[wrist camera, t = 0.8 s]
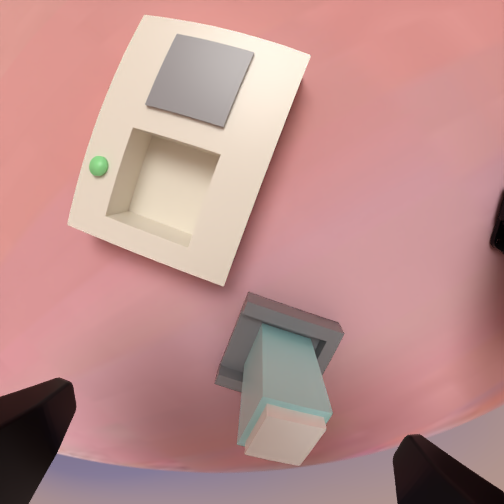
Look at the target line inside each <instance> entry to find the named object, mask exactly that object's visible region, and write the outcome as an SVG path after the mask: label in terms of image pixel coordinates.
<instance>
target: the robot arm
mask: <svg viewBox="0 0 504 504" xmlns="http://www.w3.org/2000/svg"><path fill="white" fill-rule="evenodd" d="M497 239H498V241H497V243H496V240H497ZM491 245H492V246H493V247H494V248H496V249H497V250H499V251H500V252H502V253H503V254H504V199H503V202H502V206H501V209H500V213H499V216H498V219H497V222H496V226H495V229H494V232H493V235H492V237H491ZM75 411H76V400H75V394H74V388H73V385H72V383H71V382H70V381H67V380H65V379H62V378H55V379H52V380H49V381H46V382H43V383H40V384H37V385H34V386H31V387H29V388H26V389H23V390H20V391H16V392H13V393H10V394H7V395H4V396H1V397H0V504H29V502H30V500H31V498H32V496H33V495H34V493H35V491H36V489H37V487H38V486H39V484H40V482H41V480H42V478H43V477H44V475H45V473H46V471H47V470H48V468H49V466H50V465H51V463H52V461H53V459H54V457H55V456H56V454H57V452H58V450H59V448H60V445H61V443H62V441H63V438H64V436H65V434H66V432H67V429H68V427H69V425H70V423H71V420H72V418H73V416H74V414H75ZM393 467H394V475H395V485H396V494H397V503H398V504H504V492H503V491H502V490H500V489H499V488H497V487H496V486H494V485H493V484H491V483H489V482H488V481H486V480H485V479H484V478H482V477H480V476H479V475H478V474H476V473H475V472H473V471H472V470H470V469H469V468H467V467H466V466H464V465H463V464H461V463H460V462H459V461H457V460H456V459H454V458H453V457H451V456H450V455H448V454H447V453H446V452H444V451H443V450H441V449H440V448H438V447H437V446H436V445H434V444H433V443H431V442H430V441H429V440H427V439H426V438H424V437H423V436H422V435H420V434H414V435H407V436H406V437H405V438H404V439H403V441H402V442H401V444H400V446H399V447H398V449H397V451H396V452H395V454H394V456H393Z"/></svg>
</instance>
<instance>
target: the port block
mask: <svg viewBox="0 0 504 504" xmlns="http://www.w3.org/2000/svg"><path fill="white" fill-rule="evenodd" d="M310 57H311V55H309V54H306V53H304V52H301V51H298V50H295V49H292V48H289V47H286V46H283V45H280V44H277V43H274V42H271V41H268V40H264V39H261V38H258V37H254V36H251V35H247V34H243V33H239V32H236V31H232V30H228V29H223V28H219V27H215V26H210V25H205V24H200V23H195V22H190V21H184V20H178V19H172V18H165V17H158V16H150V15H144V16H143V18H142V20H141V22H140V24H139V26H138V28H137V29H136V31H135V33H134V35H133V37H132V39H131V41H130V43H129V45H128V47H127V49H126V51H125V53H124V56H123V58H122V60H121V62H120V64H119V66H118V69H117V71H116V73H115V75H114V78H113V80H112V82H111V85H110V87H109V90H108V92H107V95H106V97H105V100H104V102H103V105H102V107H101V110H100V113H99V115H98V118H97V121H96V124H95V127H94V129H93V132H92V135H91V138H90V141H89V144H88V148H87V151H86V154H85V157H84V161H83V164H82V167H81V171H80V175H79V178H78V182H77V186H76V189H75V193H74V197H73V202H72V206H71V210H70V215H69V219H68V224H67V225H69V226H71V227H74V228H76V229H78V230H81V231H83V232H85V233H88V234H90V235H93V236H95V237H97V238H100V239H102V240H105V241H107V242H109V243H112V244H114V245H117V246H119V247H122V248H124V249H127V250H129V251H132V252H134V253H137V254H139V255H142V256H144V257H147V258H149V259H152V260H154V261H157V262H160V263H162V264H165V265H167V266H170V267H172V268H175V269H178V270H180V271H183V272H186V273H188V274H191V275H194V276H196V277H199V278H202V279H204V280H207V281H210V282H212V283H215V284H218V285H220V286H223V287H224V284H225V281H226V279H227V276H228V273H229V270H230V268H231V265H232V262H233V259H234V257H235V254H236V251H237V249H238V246H239V243H240V240H241V238H242V235H243V232H244V230H245V227H246V224H247V221H248V219H249V216H250V213H251V211H252V208H253V205H254V203H255V200H256V197H257V195H258V192H259V189H260V187H261V184H262V181H263V179H264V176H265V173H266V171H267V168H268V165H269V163H270V160H271V157H272V155H273V152H274V150H275V147H276V144H277V142H278V139H279V136H280V134H281V131H282V129H283V126H284V123H285V121H286V118H287V116H288V113H289V110H290V108H291V105H292V103H293V100H294V97H295V95H296V92H297V90H298V87H299V85H300V82H301V79H302V77H303V74H304V72H305V69H306V67H307V64H308V62H309V59H310Z"/></svg>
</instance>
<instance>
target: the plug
mask: <svg viewBox="0 0 504 504" xmlns="http://www.w3.org/2000/svg"><path fill="white" fill-rule="evenodd" d="M332 414H333V411H332V408H331V405H330V401H329V398H328V394H327V391H326V388H325V384H324V381H323V377H322V374H321V371H320V367H319V364H318V361H317V358H316V354H315V351H314V348H313V344H312V341H311V339H310V338H307V337H303V336H300V335H297V334H294V333H291V332H288V331H285V330H282V329H279V328H276V327H273V326H270V325H267V324H264V323H262V325H261V327H260V329H259V332H258V334H257V336H256V339H255V341H254V343H253V346H252V348H251V350H250V353H249V355H248V357H247V359H246V362H245V364H244V372H243V383H242V393H241V404H240V415H239V426H238V437H237V445H241V446H244V447H245V455H248V456H253V457H257V458H261V459H266V460H271V461H276V462H281V463H286V464H291V465H297V466H300V465H301V463H302V462H303V461H304V459H305V458H306V457H307V455H308V454H309V453H310V452H311V450H312V449H313V447H314V446H315V445H316V443H317V442H318V441H319V439H320V438H321V436H322V435H323V434H324V432H325V431H326V429H327V428H326V423H327V422H328V420H329V419H330V417H331V416H332Z"/></svg>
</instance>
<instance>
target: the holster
mask: <svg viewBox="0 0 504 504" xmlns="http://www.w3.org/2000/svg"><path fill="white" fill-rule="evenodd" d="M262 323H264V324H267V325H270V326H273V327H276V328H279V329H282V330H285V331H288V332H291V333H294V334H297V335H300V336H303V337H307V338H310V339H311V341H312V344H313V348H314V351H315V354H316V358H317V361H318V364H319V367H320V371H321V374H322V375H323V373H324V371H325V369H326V368H327V366H328V364H329V362H330V360H331V358H332V356H333V355H334V353H335V351H336V349H337V347H338V345H339V343H340V341H341V339H342V337H343V336H344V332H343V330H342V328H341V326H340V325H339V323H338V322H335V321H332V320H329V319H326V318H323V317H320V316H317V315H314V314H311V313H308V312H305V311H302V310H299V309H296V308H293V307H290V306H287V305H284V304H282V303H279V302H276V301H273V300H270V299H267V298H264V297H262V296H259V295H256V294H253V293H250V292H248V295H247V297H246V300H245V302H244V305H243V307H242V310H241V312H240V315H239V318H238V320H237V323H236V325H235V328H234V330H233V333H232V335H231V338H230V340H229V343H228V345H227V348H226V350H225V353H224V356H223V358H222V361H221V363H220V366H219V368H218V371H217V375H216V380H215V384H217V385H220V386H223V387H226V388H229V389H232V390H235V391H239V392H242V383H243V372H244V364H245V362H246V359H247V357H248V355H249V353H250V350H251V348H252V346H253V343H254V341H255V339H256V336H257V334H258V332H259V329H260V327H261V325H262Z"/></svg>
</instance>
